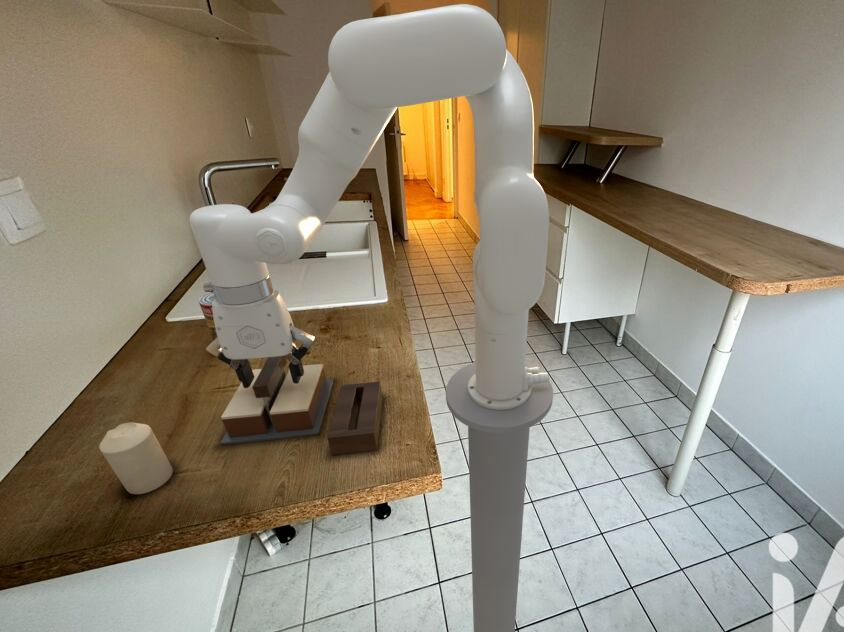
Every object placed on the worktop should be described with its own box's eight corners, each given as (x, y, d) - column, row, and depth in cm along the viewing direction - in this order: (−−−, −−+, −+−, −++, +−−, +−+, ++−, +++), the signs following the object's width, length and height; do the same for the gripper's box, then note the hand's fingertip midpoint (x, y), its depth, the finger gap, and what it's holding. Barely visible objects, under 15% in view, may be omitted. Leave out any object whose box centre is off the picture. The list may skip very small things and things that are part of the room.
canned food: (208, 352, 90) (189, 303, 84) (232, 333, 97) (215, 287, 91) (243, 354, 90) (226, 305, 84) (264, 336, 96) (250, 289, 91)
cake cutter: (283, 391, 79) (270, 352, 74) (295, 389, 79) (283, 351, 75) (267, 427, 70) (251, 386, 66) (281, 426, 71) (266, 385, 66)
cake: (334, 381, 83) (329, 360, 80) (318, 434, 70) (312, 412, 68) (252, 388, 80) (244, 367, 77) (221, 445, 67) (211, 422, 65)
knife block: (344, 401, 78) (340, 384, 76) (383, 397, 79) (380, 381, 77) (332, 455, 66) (327, 437, 64) (377, 450, 68) (373, 432, 66)
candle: (161, 491, 59) (132, 442, 54) (117, 497, 58) (83, 447, 53) (180, 462, 64) (154, 414, 59) (139, 467, 63) (110, 418, 58)
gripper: (167, 303, 58) (209, 400, 67) (299, 296, 61) (322, 389, 70) (192, 281, 64) (227, 372, 73) (310, 276, 68) (330, 364, 77)
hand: (273, 380), depth 72 cm, fingers open, 7 cm apart
